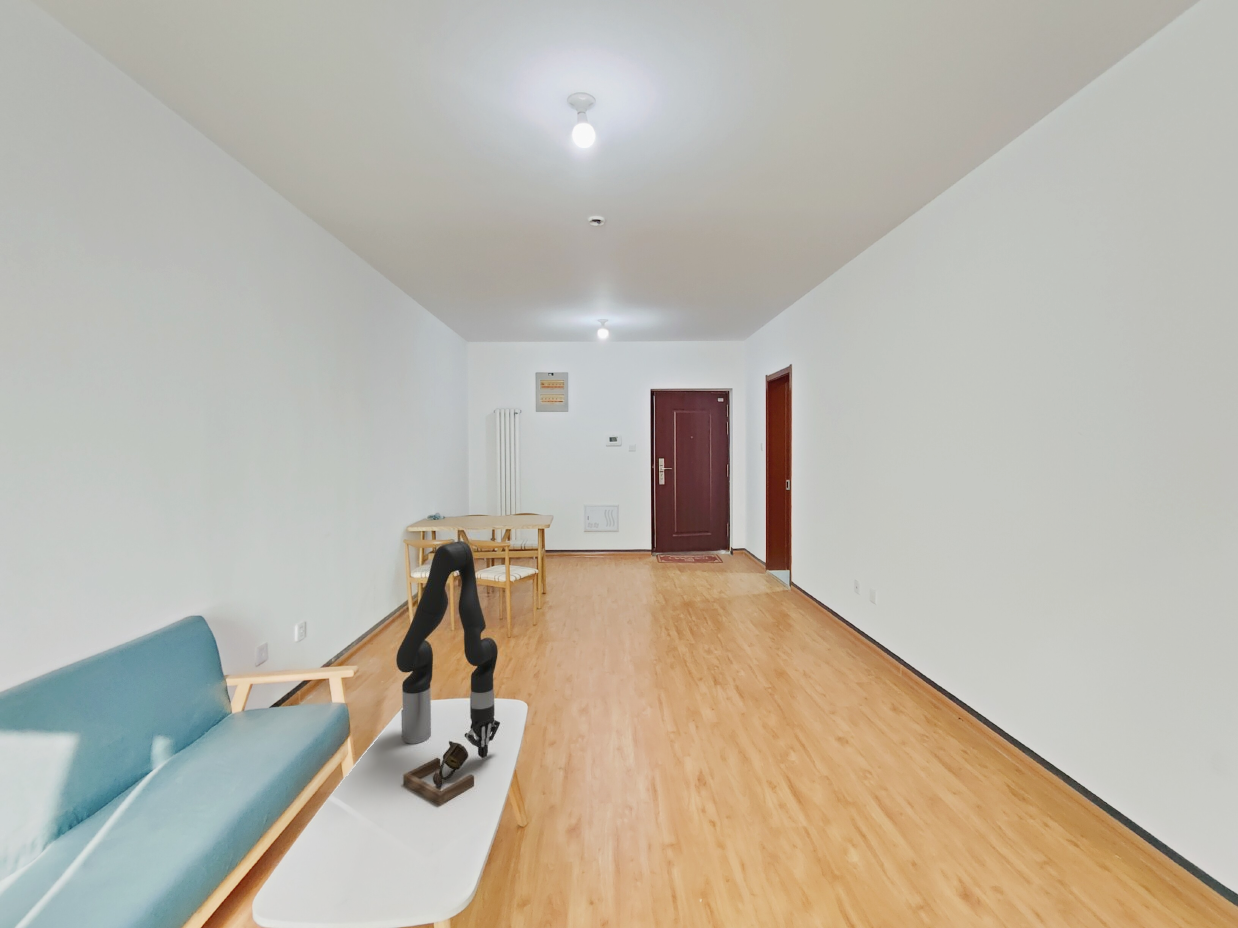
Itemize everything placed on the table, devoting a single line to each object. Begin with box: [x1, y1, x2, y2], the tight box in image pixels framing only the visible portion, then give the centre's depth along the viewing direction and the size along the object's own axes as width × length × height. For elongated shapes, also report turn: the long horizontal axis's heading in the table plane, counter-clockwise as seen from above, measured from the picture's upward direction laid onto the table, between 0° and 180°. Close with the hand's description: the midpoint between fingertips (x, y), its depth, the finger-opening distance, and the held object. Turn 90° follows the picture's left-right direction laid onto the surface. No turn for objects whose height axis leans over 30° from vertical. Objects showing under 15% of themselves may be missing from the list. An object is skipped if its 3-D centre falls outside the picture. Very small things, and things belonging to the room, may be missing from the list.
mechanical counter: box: [432, 740, 469, 788], centre depth 176 cm, size 7×13×10 cm, turn 172°
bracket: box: [402, 757, 475, 806], centre depth 173 cm, size 18×12×3 cm
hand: (482, 756), depth 187 cm, fingers closed
